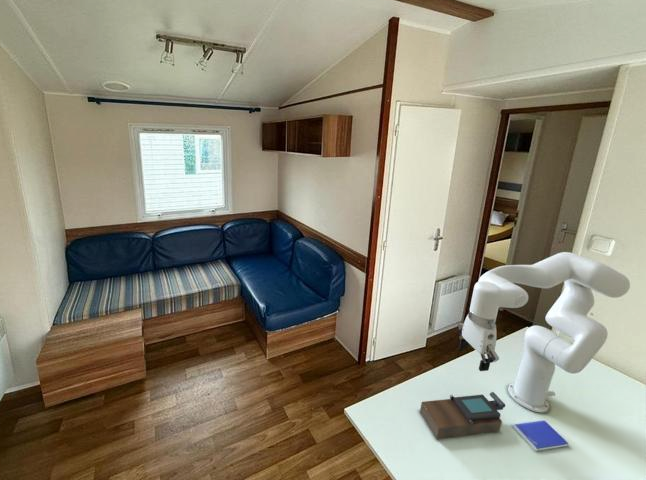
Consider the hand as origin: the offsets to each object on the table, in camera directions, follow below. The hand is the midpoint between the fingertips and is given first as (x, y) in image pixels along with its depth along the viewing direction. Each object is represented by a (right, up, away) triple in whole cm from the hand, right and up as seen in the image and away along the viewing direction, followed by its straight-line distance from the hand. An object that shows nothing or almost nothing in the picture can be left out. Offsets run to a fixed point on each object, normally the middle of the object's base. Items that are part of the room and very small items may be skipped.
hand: (472, 359), depth 102 cm
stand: (-3, -25, +3) cm, 25 cm away
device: (+5, -20, +3) cm, 21 cm away
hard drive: (+23, -27, -1) cm, 35 cm away
